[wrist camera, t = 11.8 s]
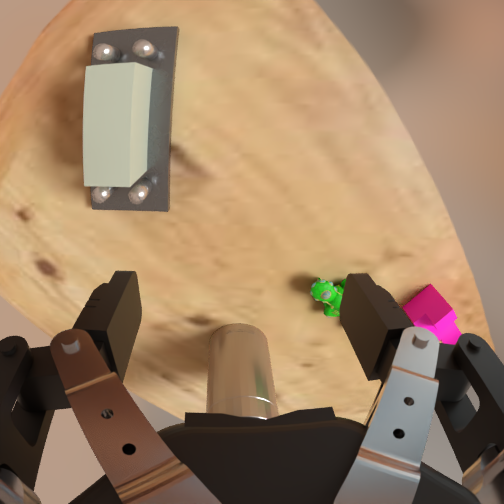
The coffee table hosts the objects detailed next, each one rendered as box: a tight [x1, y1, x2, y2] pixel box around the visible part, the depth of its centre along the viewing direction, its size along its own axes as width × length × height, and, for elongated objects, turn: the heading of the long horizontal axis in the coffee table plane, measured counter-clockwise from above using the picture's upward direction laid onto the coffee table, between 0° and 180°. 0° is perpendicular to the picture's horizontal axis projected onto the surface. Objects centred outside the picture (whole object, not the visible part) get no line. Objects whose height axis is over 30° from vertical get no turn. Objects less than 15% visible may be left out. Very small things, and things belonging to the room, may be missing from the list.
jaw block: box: [83, 62, 153, 187], centre depth 29 cm, size 5×12×7 cm, turn 174°
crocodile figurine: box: [310, 278, 346, 317], centre depth 46 cm, size 7×18×4 cm, turn 54°
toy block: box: [402, 284, 462, 345], centre depth 48 cm, size 15×6×8 cm, turn 43°
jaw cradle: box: [90, 27, 179, 212], centre depth 31 cm, size 22×10×5 cm, turn 175°
